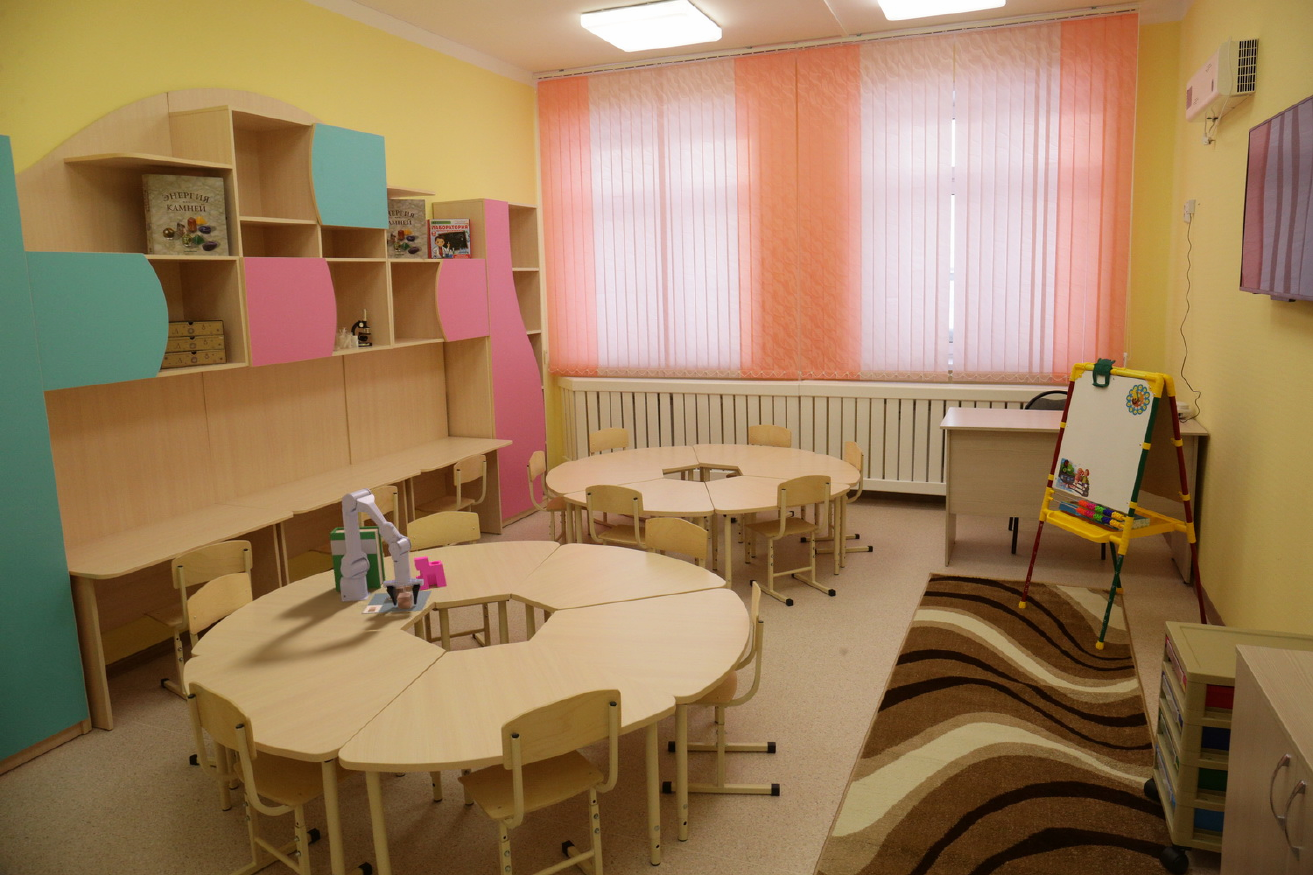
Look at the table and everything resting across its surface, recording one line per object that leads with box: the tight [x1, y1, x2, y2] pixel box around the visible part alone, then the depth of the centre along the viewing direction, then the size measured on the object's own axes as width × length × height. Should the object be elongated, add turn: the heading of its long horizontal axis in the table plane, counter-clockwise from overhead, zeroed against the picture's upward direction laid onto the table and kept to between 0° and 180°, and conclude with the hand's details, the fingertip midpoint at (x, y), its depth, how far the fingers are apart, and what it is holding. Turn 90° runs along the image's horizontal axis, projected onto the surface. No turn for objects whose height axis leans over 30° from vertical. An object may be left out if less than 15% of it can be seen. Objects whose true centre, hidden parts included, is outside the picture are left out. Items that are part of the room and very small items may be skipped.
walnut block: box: [396, 586, 408, 598], centre depth 345 cm, size 5×5×4 cm
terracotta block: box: [397, 593, 413, 609], centre depth 334 cm, size 4×4×4 cm
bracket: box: [413, 555, 447, 591], centre depth 357 cm, size 12×10×10 cm
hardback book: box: [329, 525, 387, 592], centre depth 356 cm, size 18×7×24 cm, turn 90°
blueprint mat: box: [361, 590, 432, 615], centre depth 339 cm, size 22×20×1 cm
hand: (405, 604), depth 335 cm, fingers open, 7 cm apart
